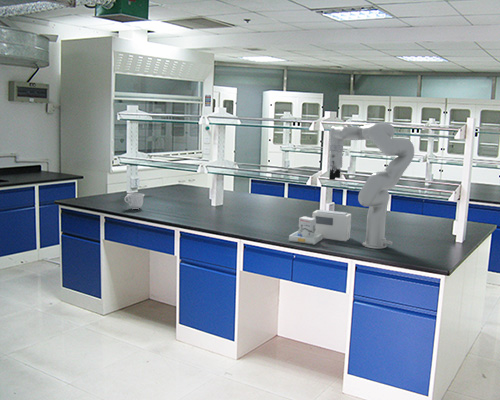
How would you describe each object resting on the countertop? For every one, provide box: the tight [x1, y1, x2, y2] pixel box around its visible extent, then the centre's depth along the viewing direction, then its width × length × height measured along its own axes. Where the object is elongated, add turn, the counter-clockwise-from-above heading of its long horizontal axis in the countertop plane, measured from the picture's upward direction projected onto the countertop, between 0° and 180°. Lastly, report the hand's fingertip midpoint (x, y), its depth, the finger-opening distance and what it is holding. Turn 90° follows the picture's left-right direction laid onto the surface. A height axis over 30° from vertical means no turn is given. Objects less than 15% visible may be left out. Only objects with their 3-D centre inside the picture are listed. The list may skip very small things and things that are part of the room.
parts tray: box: [288, 230, 324, 245], centre depth 286 cm, size 15×14×3 cm
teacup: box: [124, 192, 145, 210], centre depth 358 cm, size 12×15×10 cm
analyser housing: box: [311, 209, 352, 242], centre depth 292 cm, size 20×9×15 cm, turn 64°
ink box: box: [297, 215, 316, 239], centre depth 285 cm, size 9×5×12 cm, turn 49°
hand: (334, 178), depth 296 cm, fingers open, 9 cm apart
